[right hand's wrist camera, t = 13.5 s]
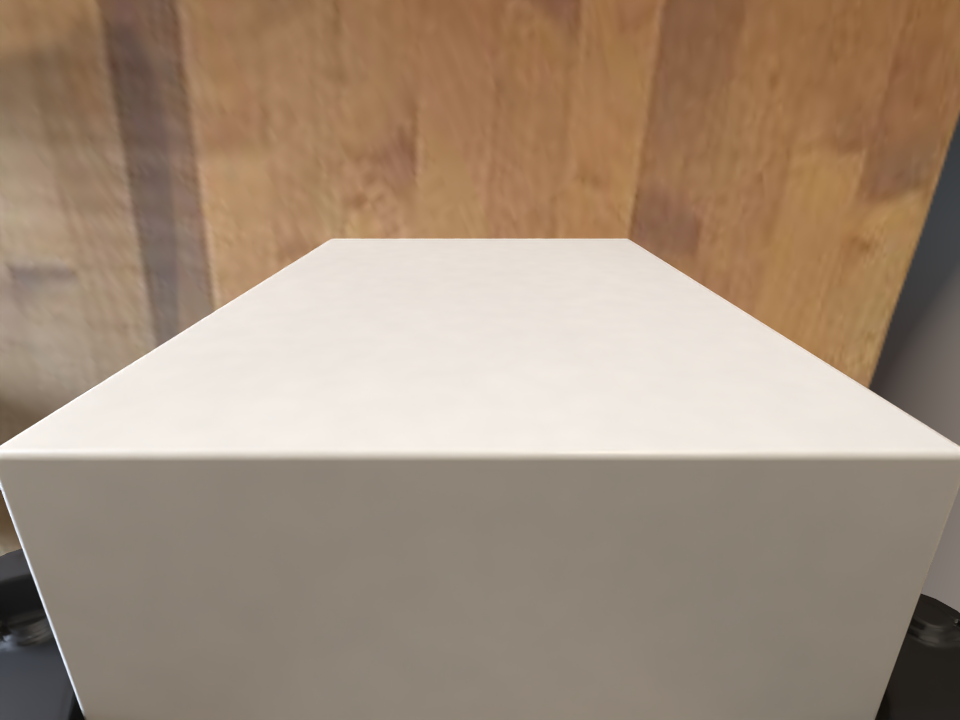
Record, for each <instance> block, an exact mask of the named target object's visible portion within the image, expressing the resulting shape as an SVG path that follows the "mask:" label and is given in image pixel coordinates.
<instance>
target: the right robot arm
mask: <svg viewBox="0 0 960 720" xmlns="http://www.w3.org/2000/svg"><path fill="white" fill-rule="evenodd" d="M0 720H85V719H84V716H83V714H82V711H81V708H80V705H79V703H78V700H77V697H76V695H75V692H74V689H73V686H72V684H71V681H70V678H69V675H68V673H67V670H66V667H65V664H64V662H63V659H62V656H61V653H60V651H59V648H58V645H57V642H56V640H55V637H54V634H53V631H52V629H51V626H50V623H49V620H48V618H47V615H46V612H45V609H44V607H43V604H42V601H41V598H40V596H39V593H38V590H37V587H36V585H35V582H34V579H33V576H32V574H31V571H30V568H29V565H28V563H27V560H26V557H25V554H24V552H23V549H19V550H16V551H13V552H10V553H7V554H5V555H3V556H1V557H0ZM875 720H960V613H959V612H958V611H956V610H955V609H953V608H951V607H949V606H947V605H946V604H944V603H942V602H940V601H938V600H937V599H934V598H932V597H929V596H926V595H923V594H920V596H919V599H918V602H917V605H916V607H915V610H914V613H913V616H912V618H911V621H910V624H909V627H908V629H907V632H906V635H905V638H904V640H903V643H902V646H901V649H900V651H899V654H898V657H897V660H896V662H895V665H894V668H893V671H892V673H891V676H890V679H889V682H888V684H887V687H886V690H885V693H884V695H883V698H882V701H881V704H880V706H879V709H878V712H877V715H876V717H875Z"/></svg>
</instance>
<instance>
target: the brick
mask: <svg viewBox="0 0 960 720" xmlns="http://www.w3.org/2000/svg"><path fill="white" fill-rule="evenodd" d="M959 486H960V446H959V445H957V444H955V443H954V442H952V441H951V440H949V439H947V438H946V437H944V436H943V435H941V434H939V433H938V432H936V431H935V430H933V429H931V428H930V427H928V426H927V425H925V424H923V423H922V422H920V421H919V420H917V419H915V418H914V417H912V416H911V415H909V414H907V413H906V412H904V411H903V410H901V409H899V408H898V407H896V406H895V405H893V404H891V403H890V402H888V401H887V400H885V399H883V398H882V397H880V396H879V395H877V394H875V393H874V392H872V391H871V390H869V389H867V388H866V387H864V386H863V385H861V384H859V383H858V382H856V381H855V380H853V379H851V378H850V377H848V376H847V375H845V374H843V373H842V372H840V371H839V370H837V369H835V368H834V367H832V366H831V365H829V364H827V363H826V362H824V361H823V360H821V359H819V358H818V357H816V356H815V355H813V354H811V353H810V352H808V351H807V350H805V349H803V348H802V347H800V346H799V345H797V344H795V343H794V342H792V341H791V340H789V339H787V338H786V337H784V336H783V335H781V334H779V333H778V332H776V331H775V330H773V329H771V328H770V327H768V326H767V325H765V324H763V323H762V322H760V321H759V320H757V319H755V318H754V317H752V316H751V315H749V314H747V313H746V312H744V311H743V310H741V309H739V308H738V307H736V306H735V305H733V304H731V303H730V302H728V301H727V300H725V299H723V298H722V297H720V296H719V295H717V294H715V293H714V292H712V291H711V290H709V289H707V288H706V287H704V286H703V285H701V284H700V283H698V282H696V281H695V280H693V279H692V278H690V277H688V276H687V275H685V274H684V273H682V272H680V271H679V270H677V269H676V268H674V267H672V266H671V265H669V264H668V263H666V262H664V261H663V260H661V259H660V258H658V257H656V256H655V255H653V254H652V253H650V252H648V251H647V250H645V249H644V248H642V247H640V246H639V245H637V244H636V243H634V242H632V241H631V240H629V239H331V240H329V241H327V242H326V243H324V244H323V245H321V246H319V247H318V248H316V249H315V250H313V251H311V252H310V253H308V254H307V255H305V256H303V257H302V258H300V259H299V260H297V261H295V262H294V263H292V264H291V265H289V266H287V267H286V268H284V269H283V270H281V271H279V272H278V273H276V274H274V275H273V276H271V277H270V278H268V279H266V280H265V281H263V282H262V283H260V284H258V285H257V286H255V287H254V288H252V289H250V290H249V291H247V292H246V293H244V294H242V295H241V296H239V297H238V298H236V299H234V300H233V301H231V302H230V303H228V304H226V305H225V306H223V307H222V308H220V309H218V310H217V311H215V312H214V313H212V314H210V315H209V316H207V317H206V318H204V319H202V320H201V321H199V322H198V323H196V324H194V325H193V326H191V327H190V328H188V329H186V330H185V331H183V332H182V333H180V334H178V335H177V336H175V337H174V338H172V339H170V340H169V341H167V342H166V343H164V344H162V345H161V346H159V347H158V348H156V349H154V350H153V351H151V352H150V353H148V354H146V355H145V356H143V357H142V358H140V359H138V360H137V361H135V362H134V363H132V364H130V365H129V366H127V367H126V368H124V369H122V370H121V371H119V372H118V373H116V374H114V375H113V376H111V377H110V378H108V379H106V380H105V381H103V382H102V383H100V384H98V385H97V386H95V387H94V388H92V389H90V390H89V391H87V392H86V393H84V394H82V395H81V396H79V397H78V398H76V399H74V400H73V401H71V402H70V403H68V404H66V405H65V406H63V407H62V408H60V409H58V410H57V411H55V412H54V413H52V414H50V415H49V416H47V417H46V418H44V419H42V420H41V421H39V422H38V423H36V424H34V425H33V426H31V427H30V428H28V429H26V430H25V431H23V432H22V433H20V434H18V435H17V436H15V437H14V438H12V439H10V440H9V441H7V442H6V443H4V444H2V445H1V446H0V488H1V491H2V494H3V497H4V499H5V502H6V505H7V508H8V510H9V513H10V516H11V519H12V521H13V524H14V527H15V530H16V532H17V535H18V538H19V541H20V543H21V546H22V549H23V552H24V554H25V557H26V560H27V563H28V565H29V568H30V571H31V574H32V576H33V579H34V582H35V585H36V587H37V590H38V593H39V596H40V598H41V601H42V604H43V607H44V609H45V612H46V615H47V618H48V620H49V623H50V626H51V629H52V631H53V634H54V637H55V640H56V642H57V645H58V648H59V651H60V653H61V656H62V659H63V662H64V664H65V667H66V670H67V673H68V675H69V678H70V681H71V684H72V686H73V689H74V692H75V695H76V697H77V700H78V703H79V705H80V708H81V711H82V714H83V716H84V719H85V720H875V717H876V715H877V712H878V709H879V706H880V704H881V701H882V698H883V695H884V693H885V690H886V687H887V684H888V682H889V679H890V676H891V673H892V671H893V668H894V665H895V662H896V660H897V657H898V654H899V651H900V649H901V646H902V643H903V640H904V638H905V635H906V632H907V629H908V627H909V624H910V621H911V618H912V616H913V613H914V610H915V607H916V605H917V602H918V599H919V596H920V594H921V591H922V588H923V585H924V582H925V580H926V577H927V574H928V572H929V569H930V566H931V563H932V561H933V558H934V555H935V552H936V549H937V547H938V544H939V541H940V538H941V536H942V533H943V530H944V527H945V525H946V522H947V519H948V516H949V514H950V511H951V508H952V505H953V503H954V500H955V497H956V494H957V492H958V489H959Z"/></svg>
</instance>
